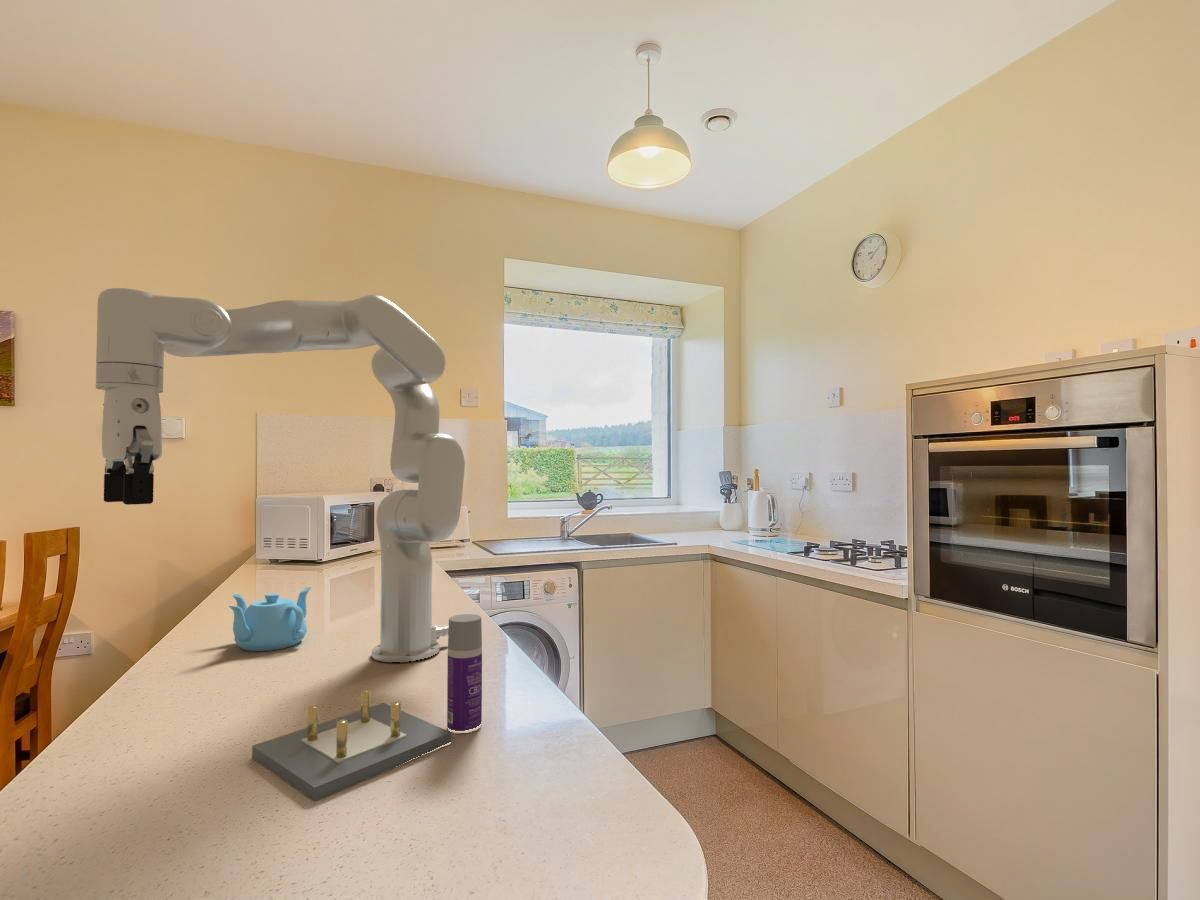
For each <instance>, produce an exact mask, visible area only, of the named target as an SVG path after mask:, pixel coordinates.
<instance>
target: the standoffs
mask: <svg viewBox="0 0 1200 900" xmlns="http://www.w3.org/2000/svg"><path fill="white" fill-rule="evenodd" d="M390 706H391V737H399V736H400V727H401V711H402V709H401V707H402V703H401V702H400V701H395V702H392V703H390ZM370 707H371V689H362V690H361V691H360V710H361V722H362V723H366V722H369V721H370ZM318 724H319V705H317V704H311V705H309V706H308V707H307V725H306V726H307V727H306V728H307V740H308V741H314V740H317V739H318ZM347 724H348V721H347V720H339V721H337V732H336V757H337V758H343V757H346V756H347Z"/></svg>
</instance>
